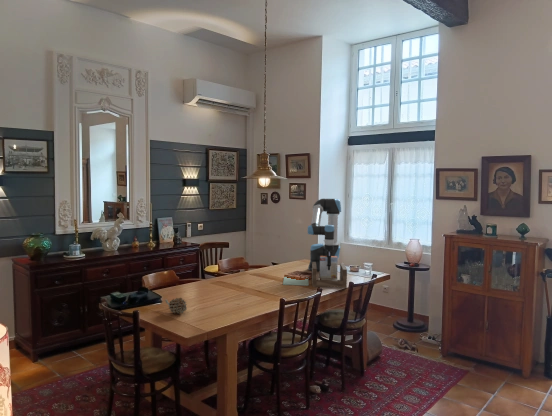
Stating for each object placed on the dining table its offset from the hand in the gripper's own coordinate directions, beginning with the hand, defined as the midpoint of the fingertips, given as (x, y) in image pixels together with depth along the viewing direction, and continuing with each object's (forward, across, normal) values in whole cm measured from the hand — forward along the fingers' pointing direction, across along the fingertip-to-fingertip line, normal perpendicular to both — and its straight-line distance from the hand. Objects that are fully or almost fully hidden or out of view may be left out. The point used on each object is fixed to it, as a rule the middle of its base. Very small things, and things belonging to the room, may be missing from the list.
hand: (328, 272), depth 346 cm
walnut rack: (+7, +3, 0) cm, 8 cm away
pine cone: (+7, +86, -100) cm, 132 cm away
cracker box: (+8, 0, 0) cm, 8 cm away
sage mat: (+7, +1, -26) cm, 27 cm away
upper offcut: (+5, +7, 0) cm, 9 cm away
